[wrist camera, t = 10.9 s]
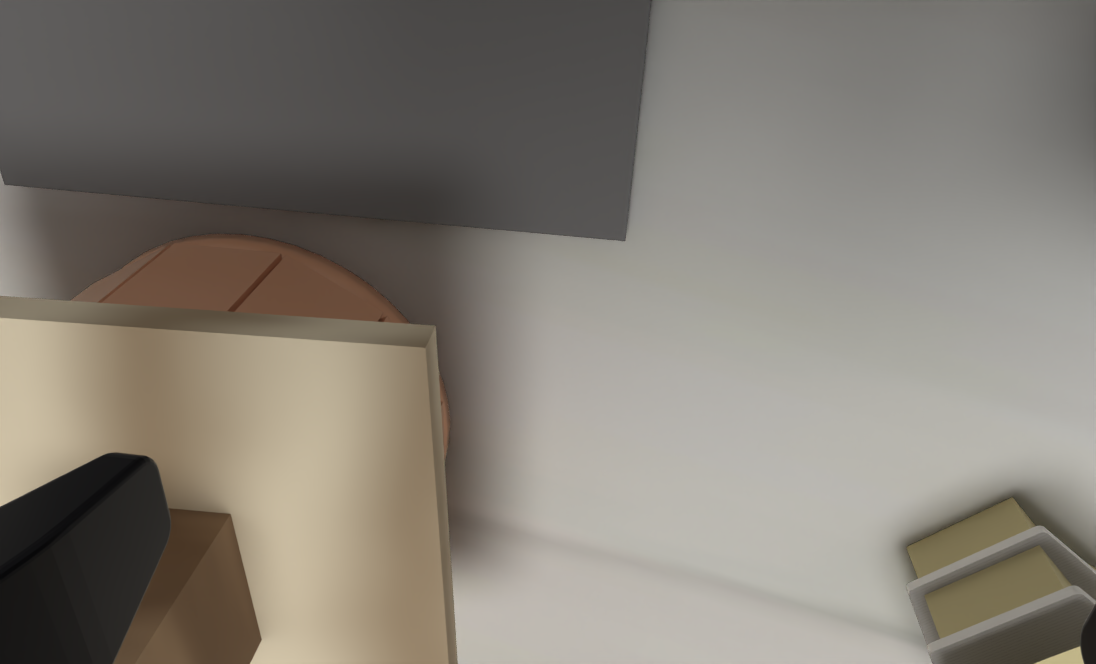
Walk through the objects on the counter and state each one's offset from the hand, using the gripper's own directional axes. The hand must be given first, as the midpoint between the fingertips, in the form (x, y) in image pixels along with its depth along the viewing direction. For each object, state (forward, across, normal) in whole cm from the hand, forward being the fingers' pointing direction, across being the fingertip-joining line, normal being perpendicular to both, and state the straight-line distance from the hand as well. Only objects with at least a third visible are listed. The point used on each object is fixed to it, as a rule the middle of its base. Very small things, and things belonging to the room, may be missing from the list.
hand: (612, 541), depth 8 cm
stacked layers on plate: (+14, -12, +13) cm, 23 cm away
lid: (+7, +10, +9) cm, 15 cm away
